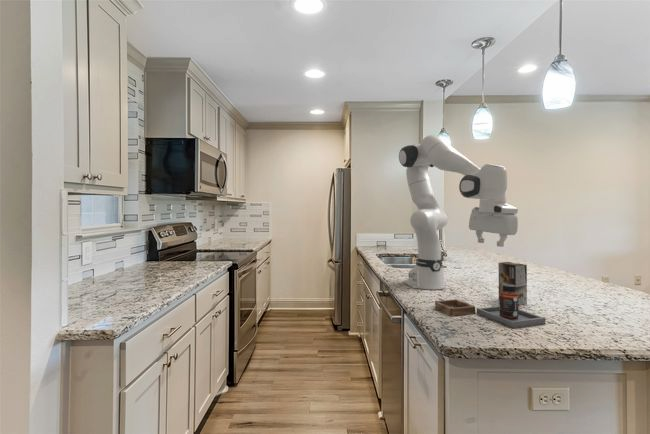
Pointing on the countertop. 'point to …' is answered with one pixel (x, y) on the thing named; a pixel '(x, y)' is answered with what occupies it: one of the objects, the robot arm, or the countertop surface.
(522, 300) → the coffee box
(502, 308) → the supplement bottle
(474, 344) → the countertop surface
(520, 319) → the charcoal tray
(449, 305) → the walnut holder
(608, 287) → the countertop surface
